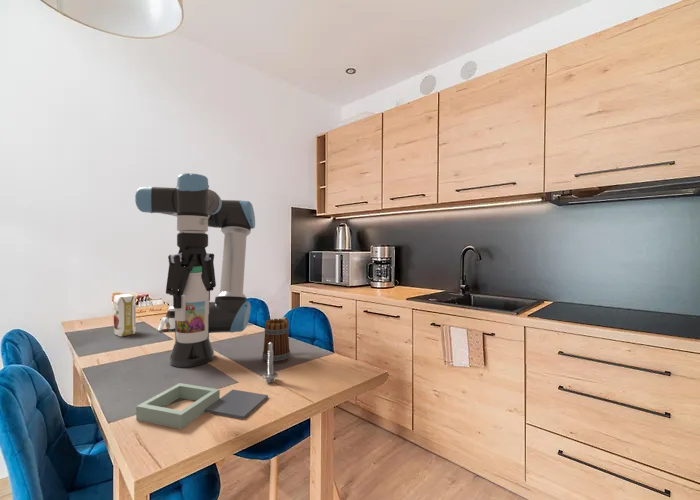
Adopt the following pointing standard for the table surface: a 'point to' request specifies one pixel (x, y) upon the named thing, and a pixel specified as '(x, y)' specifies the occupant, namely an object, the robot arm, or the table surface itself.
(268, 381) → the screw
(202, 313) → the milk bottle
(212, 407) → the plate
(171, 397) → the collar
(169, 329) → the spread jar
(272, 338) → the mug
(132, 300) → the juice carton
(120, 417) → the table surface
